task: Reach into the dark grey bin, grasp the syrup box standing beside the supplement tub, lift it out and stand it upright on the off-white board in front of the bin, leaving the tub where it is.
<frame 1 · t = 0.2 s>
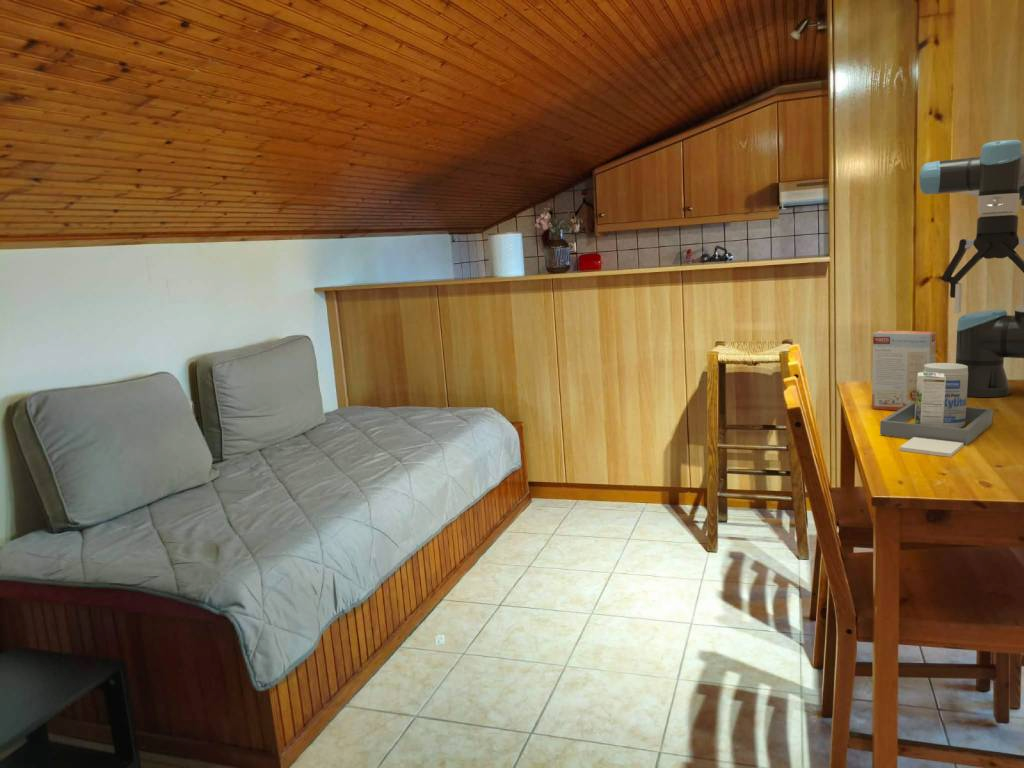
hand: (992, 313, 170), 28 cm above the table, tool pointing down, fingers open, 13 cm apart
board: (931, 448, 167), on the table
supplement tub: (942, 426, 186), resting in bin
syrup box: (928, 436, 177), resting in bin
cracker box: (902, 410, 204), on the table
bin: (936, 429, 182), on the table
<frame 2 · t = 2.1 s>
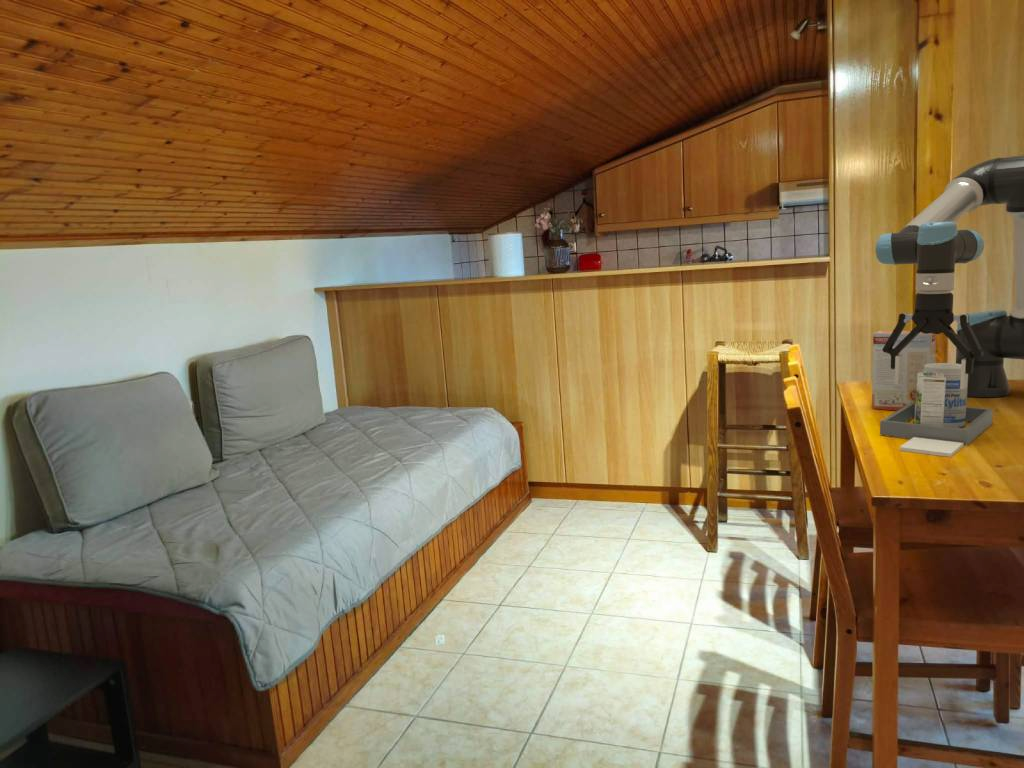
hand: (929, 385, 175), 12 cm above the table, tool pointing down, fingers open, 13 cm apart
nothing on the table moved.
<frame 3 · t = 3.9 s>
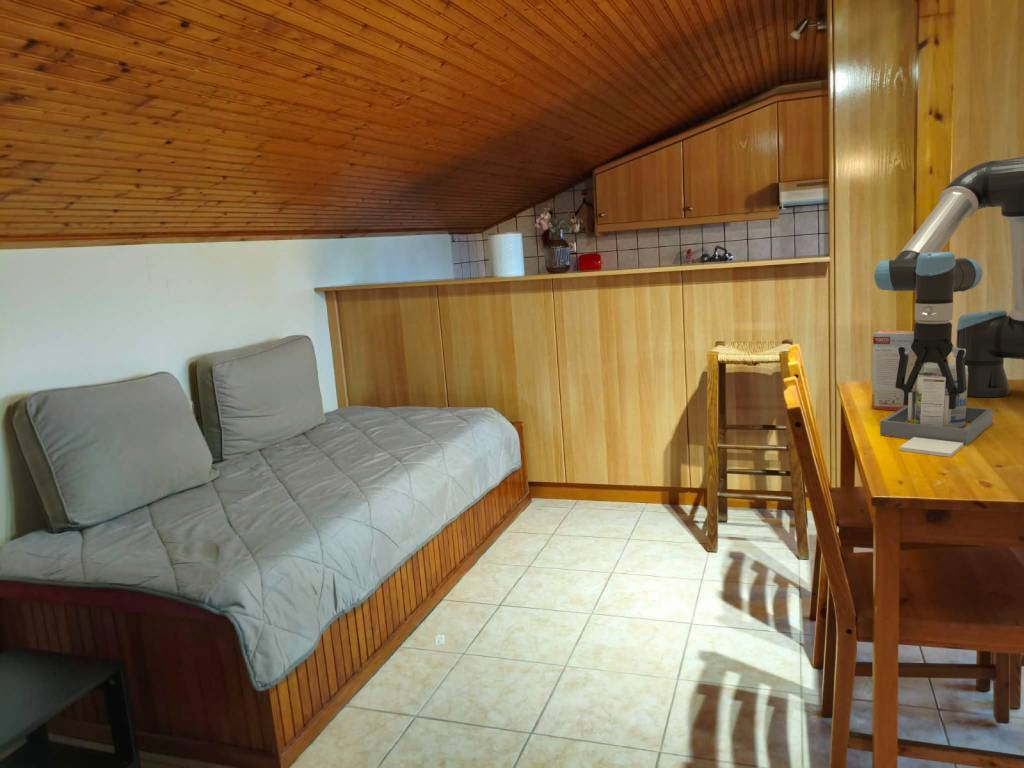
hand: (928, 420, 177), 4 cm above the table, tool pointing down, fingers closed on syrup box, 7 cm apart
syrup box: (928, 436, 177), resting in bin, touching gripper
everything else where it was.
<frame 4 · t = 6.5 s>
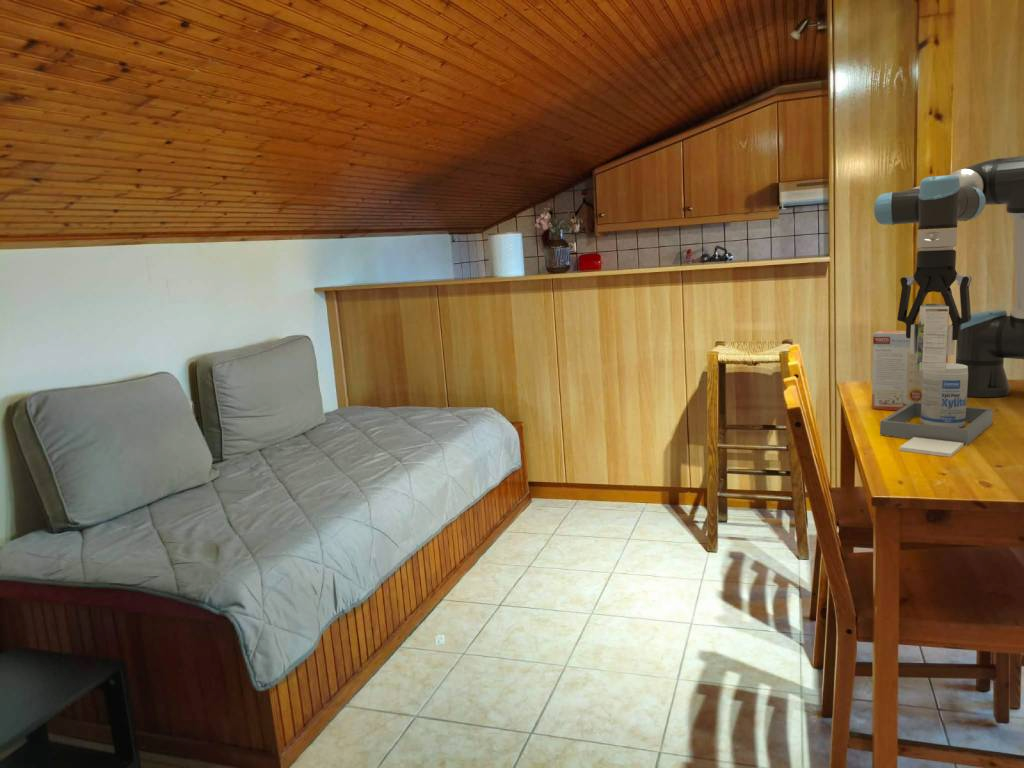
hand: (931, 353, 171), 20 cm above the table, tool pointing down, fingers closed on syrup box, 7 cm apart
syrup box: (931, 370, 171), point 16 cm above the table, touching gripper
everything else where it was.
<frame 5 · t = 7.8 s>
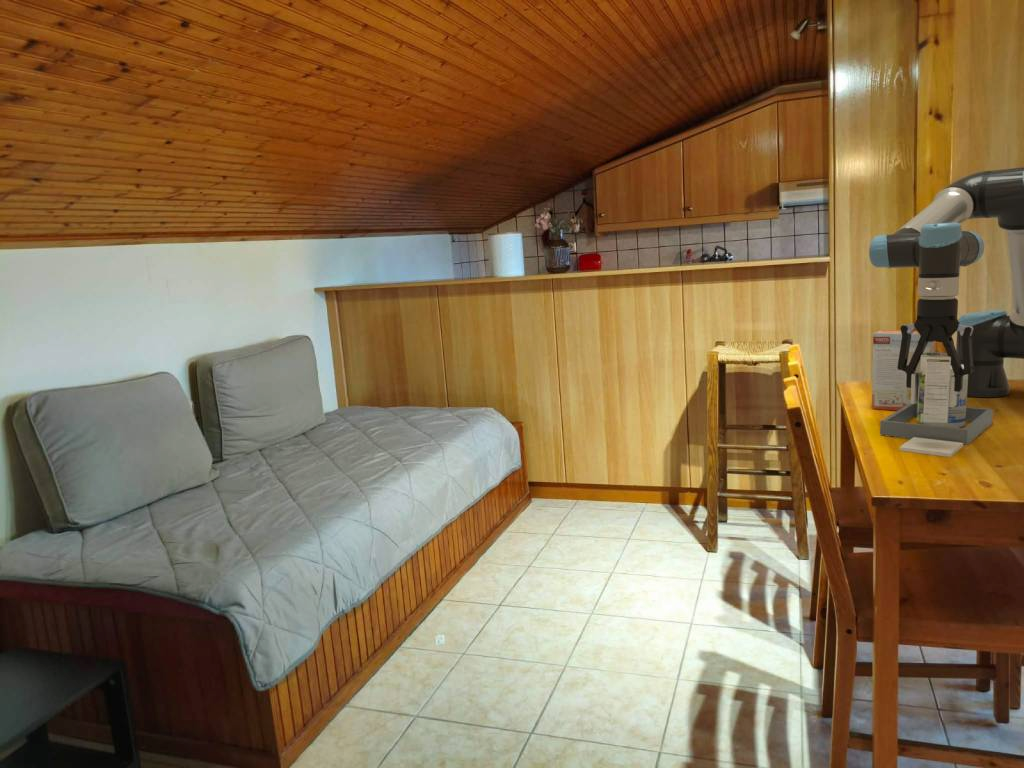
hand: (933, 404, 165), 10 cm above the table, tool pointing down, fingers closed on syrup box, 7 cm apart
syrup box: (932, 421, 166), point 6 cm above the table, touching gripper
everything else where it was.
when the fingers open (5 cm above the table, at t = 9.1 s): syrup box drops 1 cm, resting on board.
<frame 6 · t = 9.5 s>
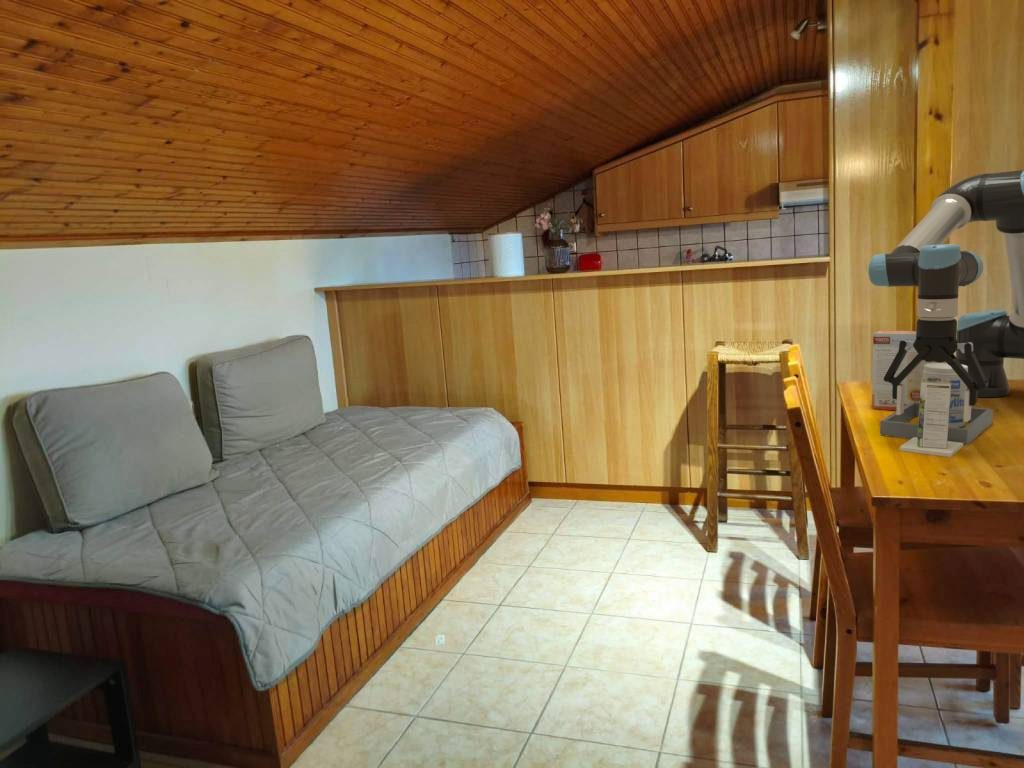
hand: (932, 417, 166), 7 cm above the table, tool pointing down, fingers open, 12 cm apart
syrup box: (932, 445, 167), point 1 cm above the table, touching board
everything else where it was.
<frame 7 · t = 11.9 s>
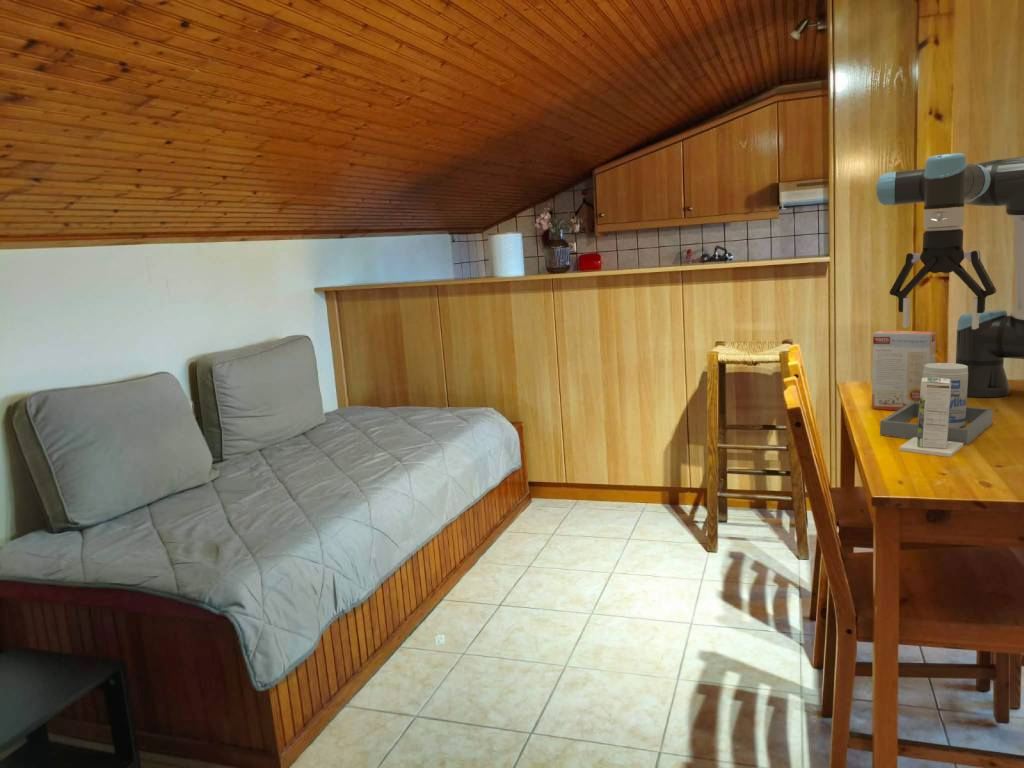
hand: (939, 327, 168), 26 cm above the table, tool pointing down, fingers open, 13 cm apart
nothing on the table moved.
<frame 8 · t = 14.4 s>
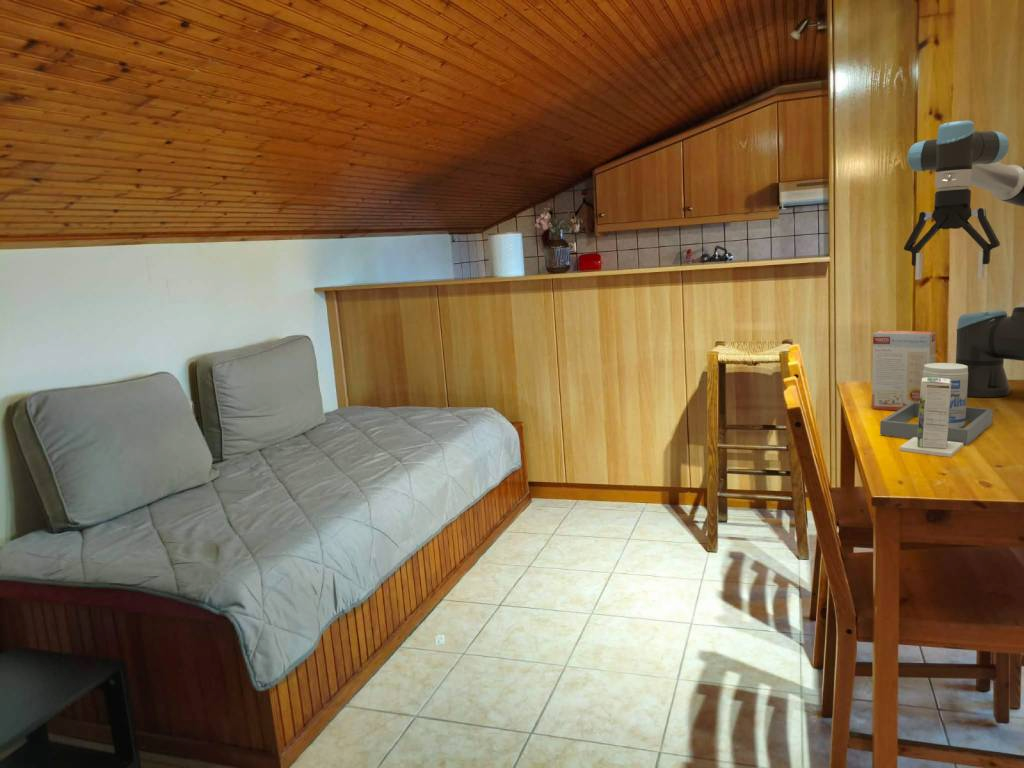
hand: (948, 279, 187), 35 cm above the table, tool pointing down, fingers open, 13 cm apart
nothing on the table moved.
at the end: syrup box 0.2 cm off-centre on the board, point 0.6 cm above the board's base; syrup box tilted 0°; the gripper is holding nothing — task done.
